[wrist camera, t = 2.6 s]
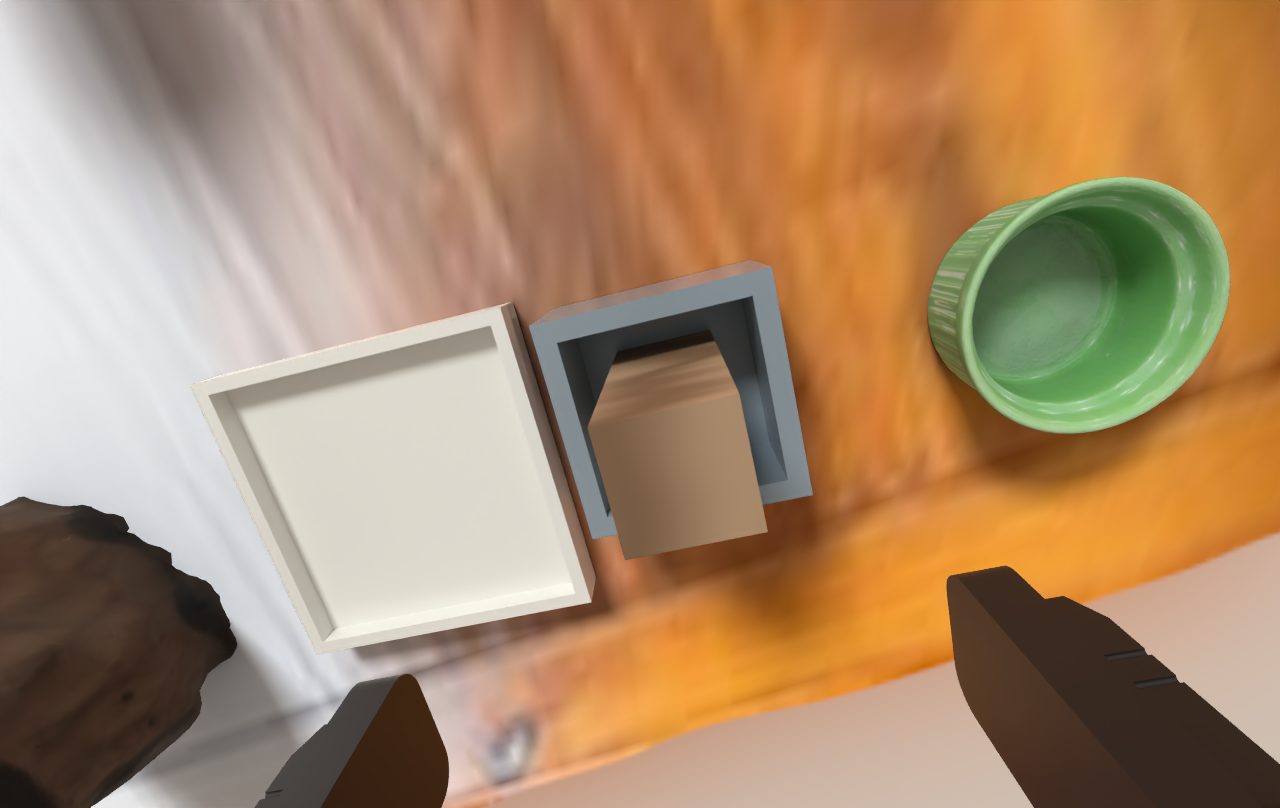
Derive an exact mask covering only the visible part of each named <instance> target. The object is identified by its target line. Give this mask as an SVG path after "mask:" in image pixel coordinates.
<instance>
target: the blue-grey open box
mask: <svg viewBox="0 0 1280 808" xmlns="http://www.w3.org/2000/svg"><path fill="white" fill-rule="evenodd" d="M529 328H530V332H531V335H532V338H533V342H534V345H535V348H536V352H537V355H538V358H539V362H540V365H541V369H542V372H543V375H544V379H545V382H546V385H547V389H548V392H549V395H550V399H551V402H552V405H553V409H554V412H555V415H556V419H557V422H558V425H559V429H560V432H561V435H562V439H563V442H564V445H565V449H566V452H567V455H568V459H569V462H570V466H571V469H572V472H573V476H574V479H575V482H576V486H577V489H578V492H579V496H580V499H581V502H582V506H583V509H584V512H585V516H586V519H587V522H588V526H589V529H590V532H591V536H592V539H598V538H602V537H607V536H612V535H617V534H618V533H617V530H616V526H615V523H614V519H613V516H612V512H611V509H610V505H609V502H608V498H607V495H606V491H605V487H604V484H603V480H602V477H601V473H600V470H599V466H598V463H597V459H596V456H595V452H594V449H593V445H592V442H591V438H590V435H589V431H588V428H587V427H588V425H589V422H590V420H591V417H592V414H593V412H594V409H595V407H596V404H597V402H598V399H599V397H600V394H601V391H602V389H603V386H604V384H605V381H606V379H607V376H608V374H609V371H610V368H611V366H612V363H613V361H614V358H615V356H616V353H617V351H621V350H626V349H630V348H634V347H638V346H643V345H647V344H651V343H655V342H660V341H664V340H668V339H672V338H677V337H681V336H685V335H689V334H694V333H698V332H702V331H706V330H710V331H711V333H712V335H713V337H714V340H715V342H716V344H717V346H718V348H719V350H720V353H721V355H722V357H723V359H724V361H725V364H726V366H727V368H728V370H729V372H730V374H731V377H732V379H733V381H734V383H735V385H736V388H737V390H738V392H739V395H740V399H741V404H742V409H743V414H744V419H745V424H746V428H747V433H748V438H749V443H750V448H751V453H752V457H753V462H754V467H755V472H756V477H757V482H758V486H759V491H760V496H761V501H762V505H766V504H771V503H776V502H781V501H786V500H791V499H796V498H800V497H805V496H810V495H813V493H812V487H811V482H810V476H809V471H808V465H807V460H806V454H805V449H804V443H803V437H802V432H801V426H800V421H799V415H798V410H797V404H796V399H795V393H794V387H793V382H792V376H791V371H790V365H789V360H788V354H787V349H786V343H785V338H784V332H783V326H782V321H781V315H780V310H779V304H778V299H777V293H776V288H775V282H774V276H773V271H772V267H771V266H768V265H765V264H762V263H759V262H756V261H753V260H748V261H744V262H740V263H736V264H732V265H728V266H724V267H720V268H715V269H711V270H707V271H703V272H699V273H695V274H691V275H687V276H683V277H679V278H675V279H671V280H667V281H663V282H659V283H655V284H651V285H647V286H643V287H639V288H634V289H630V290H626V291H622V292H618V293H614V294H610V295H606V296H602V297H598V298H594V299H590V300H586V301H582V302H578V303H574V304H570V305H566V306H562V307H557V308H554V309H553V310H551V311H550V312H548V313H547V314H546V315H544V316H543V317H541V318H540V319H539V320H537V321H536V322H534V323H533V324H531V325H530V326H529Z"/></svg>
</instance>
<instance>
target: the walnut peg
mask: <svg viewBox="0 0 1280 808" xmlns="http://www.w3.org/2000/svg"><path fill="white" fill-rule="evenodd" d="M587 428H588V431H589V435H590V438H591V442H592V445H593V449H594V452H595V456H596V459H597V463H598V466H599V470H600V473H601V477H602V480H603V484H604V487H605V491H606V495H607V498H608V502H609V505H610V509H611V512H612V516H613V519H614V523H615V526H616V530H617V533H618V537H619V540H620V544H621V547H622V551H623V554H624V558H625V560H629V559H634V558H639V557H644V556H649V555H654V554H659V553H664V552H669V551H674V550H679V549H684V548H689V547H695V546H700V545H705V544H710V543H715V542H720V541H725V540H730V539H735V538H740V537H745V536H750V535H755V534H761V533H766V532H768V530H767V525H766V520H765V515H764V511H763V506H762V501H761V496H760V491H759V486H758V482H757V477H756V472H755V467H754V462H753V457H752V453H751V448H750V443H749V438H748V433H747V428H746V424H745V419H744V414H743V409H742V404H741V399H740V395H739V392H738V390H737V388H736V385H735V383H734V381H733V379H732V377H731V374H730V372H729V370H728V368H727V366H726V364H725V361H724V359H723V357H722V355H721V353H720V350H719V348H718V346H717V344H716V342H715V340H714V337H713V335H712V333H711V331H710V330H706V331H702V332H698V333H694V334H689V335H685V336H681V337H677V338H672V339H668V340H664V341H660V342H655V343H651V344H647V345H643V346H638V347H634V348H630V349H626V350H621V351H617V353H616V356H615V358H614V361H613V363H612V366H611V368H610V371H609V374H608V376H607V379H606V381H605V384H604V386H603V389H602V391H601V394H600V397H599V399H598V402H597V404H596V407H595V409H594V412H593V414H592V417H591V420H590V422H589V425H588V427H587Z"/></svg>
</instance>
